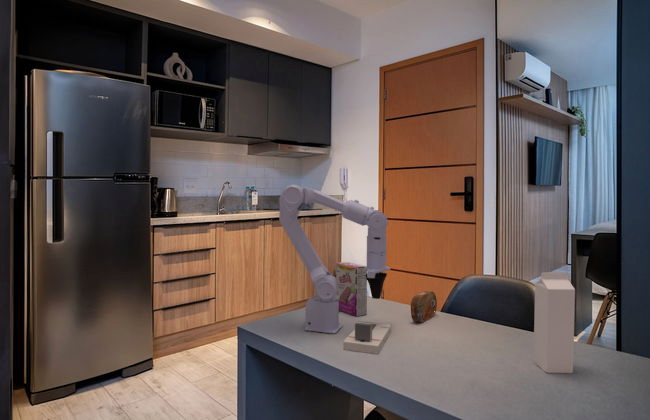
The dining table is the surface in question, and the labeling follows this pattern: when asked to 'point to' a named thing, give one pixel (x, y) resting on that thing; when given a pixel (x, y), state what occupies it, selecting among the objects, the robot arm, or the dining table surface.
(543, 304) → the milk
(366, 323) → the block
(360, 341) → the console
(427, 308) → the tin
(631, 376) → the dining table surface
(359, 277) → the candy bar box
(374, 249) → the robot arm
